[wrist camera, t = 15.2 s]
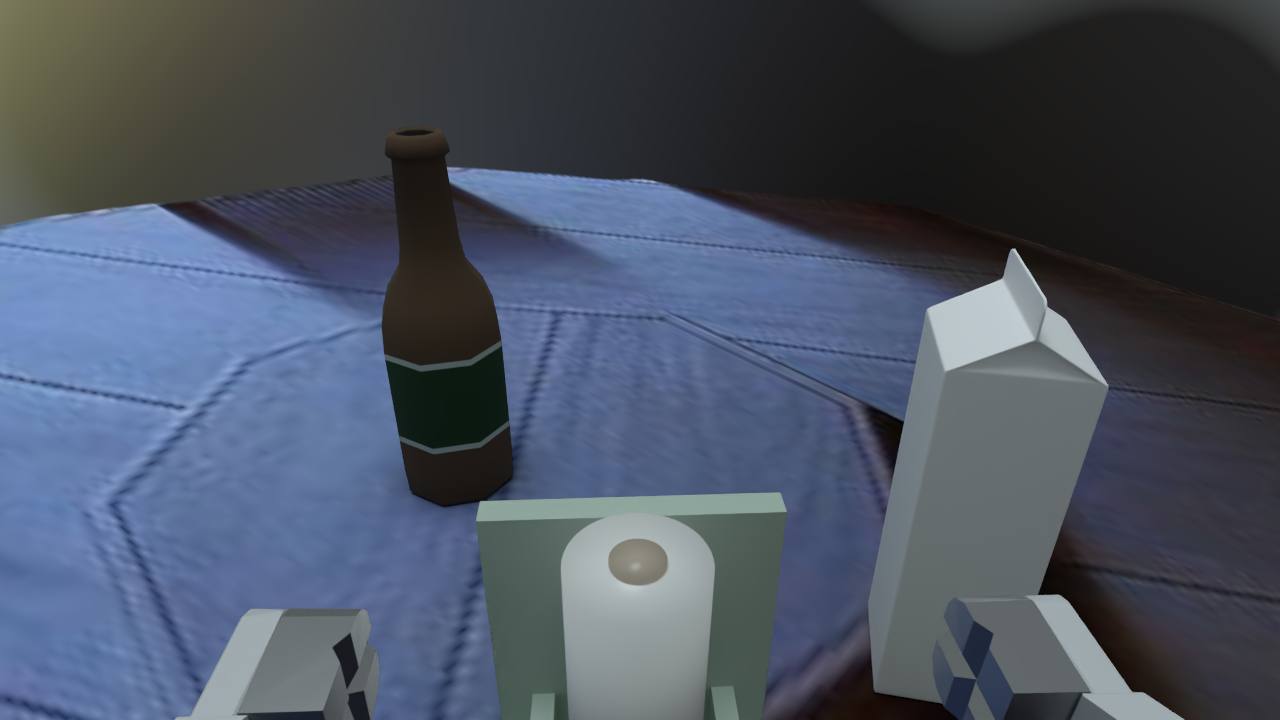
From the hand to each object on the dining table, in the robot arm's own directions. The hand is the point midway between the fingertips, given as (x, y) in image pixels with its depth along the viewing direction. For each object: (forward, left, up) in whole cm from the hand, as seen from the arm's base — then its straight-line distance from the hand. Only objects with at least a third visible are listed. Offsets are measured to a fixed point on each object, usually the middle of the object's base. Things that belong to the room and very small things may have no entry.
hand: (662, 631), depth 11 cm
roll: (-5, +11, -24) cm, 27 cm away
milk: (+6, +25, -25) cm, 36 cm away
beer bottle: (-26, +29, -25) cm, 46 cm away
